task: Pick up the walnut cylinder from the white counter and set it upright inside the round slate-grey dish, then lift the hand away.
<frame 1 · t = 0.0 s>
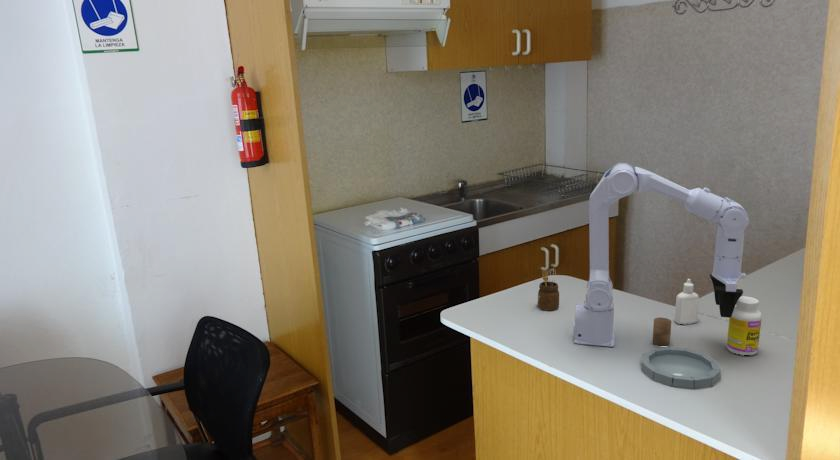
hand: (723, 310, 149), 10 cm above the kitchen counter, fingers open, 7 cm apart
utensil holder: (548, 308, 181), on the kitchen counter
walnut cylinder: (661, 343, 157), on the kitchen counter
supplement bottle: (741, 351, 152), on the kitchen counter
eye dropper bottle: (685, 323, 169), on the kitchen counter
slate dish: (679, 370, 143), on the kitchen counter
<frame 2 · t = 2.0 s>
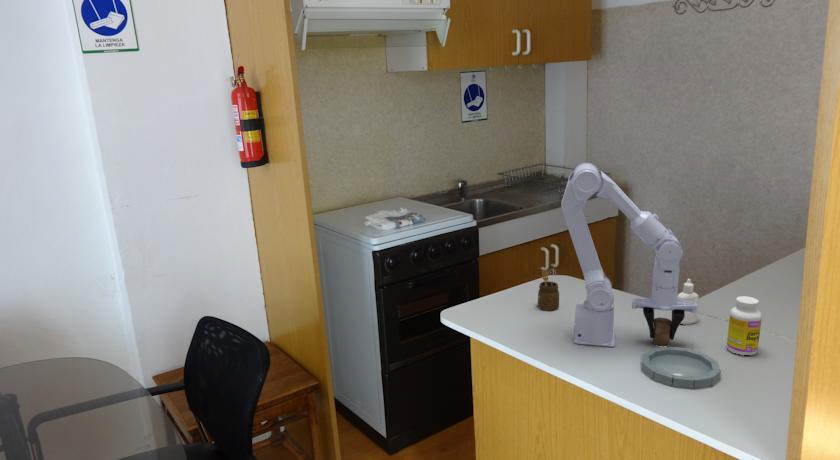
hand: (661, 337, 156), 2 cm above the kitchen counter, fingers closed on walnut cylinder, 4 cm apart
walnut cylinder: (661, 343, 157), on the kitchen counter, touching gripper
everything else where it was.
when the fingers open (3 cm above the kitchen counter, at t = 5.8 s): walnut cylinder stays where it is, resting on slate dish.
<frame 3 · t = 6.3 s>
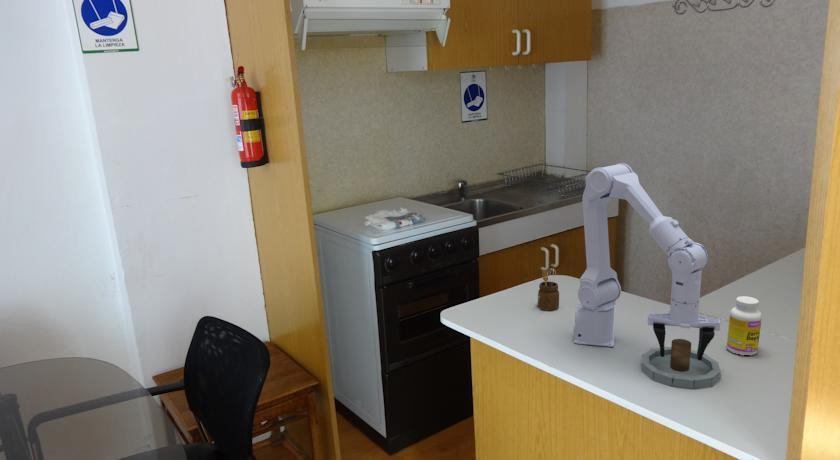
hand: (680, 356, 142), 3 cm above the kitchen counter, fingers open, 7 cm apart
walnut cylinder: (679, 367, 143), point 1 cm above the kitchen counter, touching slate dish
everything else where it was.
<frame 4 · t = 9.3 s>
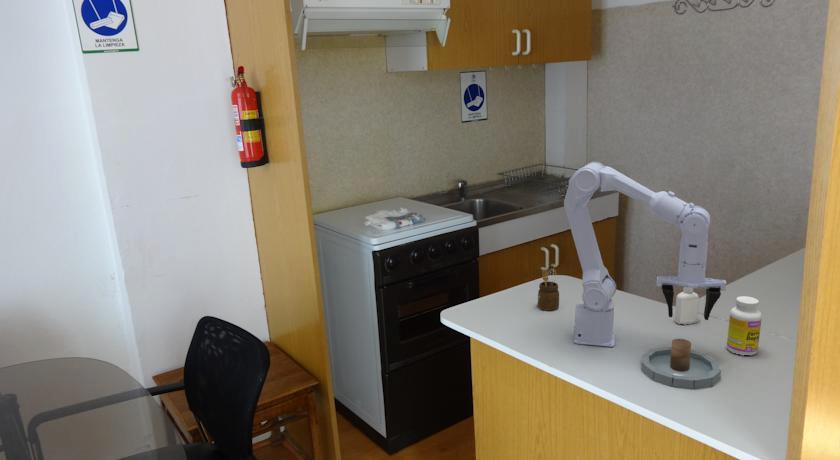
hand: (688, 317, 148), 9 cm above the kitchen counter, fingers open, 7 cm apart
nothing on the kitchen counter moved.
at the end: walnut cylinder inside the target area on the slate dish (0.0 cm from its centre), point 0.8 cm above the slate dish's base; walnut cylinder tilted 0°; the gripper is holding nothing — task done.
